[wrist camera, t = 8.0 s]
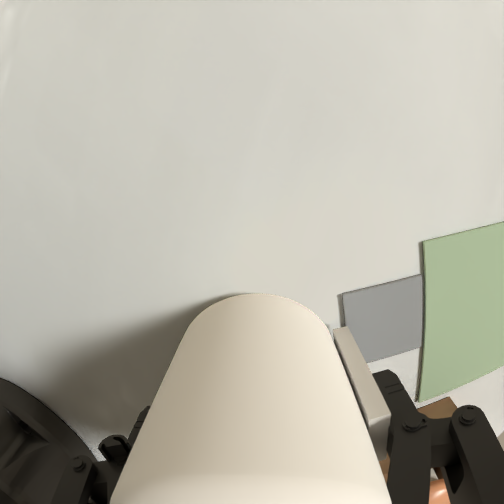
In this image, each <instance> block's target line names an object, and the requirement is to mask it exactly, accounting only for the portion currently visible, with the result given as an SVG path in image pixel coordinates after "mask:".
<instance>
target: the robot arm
mask: <svg viewBox="0 0 504 504" xmlns="http://www.w3.org/2000/svg"><path fill="white" fill-rule="evenodd" d="M333 337H334V344H335V346H336V349H337V351H338V354H339V356H340V359H341V361H342V364H343V366H344V369H345V371H346V374H347V377H348V379H349V382H350V384H351V387H352V390H353V392H354V395H355V398H356V400H357V403H358V406H359V408H360V411H361V414H362V416H363V419H364V422H365V425H366V427H367V430H368V433H369V436H370V438H371V441H372V444H373V447H374V450H375V453H376V455H377V458H378V461H382V460H385V459H386V456H387V453H388V456H389V458H390V464H389V470H388V478H387V484H386V485H387V489H388V492H389V495H390V499H391V502H392V504H429V494H430V476H431V468H435V467H440V469H441V472H442V475H443V479H444V482H445V486H446V489H447V493H448V497H449V500H450V504H504V451H503V449H502V447H501V445H500V443H499V441H498V439H497V437H496V435H495V433H494V431H493V429H492V427H491V425H490V424H489V422H488V420H487V418H486V416H485V414H484V412H483V411H482V410H481V409H480V408H478V407H476V406H473V405H465V406H461V407H459V408H457V409H456V410H455V411H454V412H453V414H452V417H447V418H439V419H432V418H428V417H427V416H426V415H425V414H423V413H420V412H418V410H417V409H416V407H415V405H414V403H413V402H412V400H411V398H410V397H409V395H408V393H407V391H406V390H405V389H404V386H403V385H402V384H401V381H400V380H399V378H398V376H397V375H396V374H395V373H393V372H392V371H390V370H384V371H381V372H377V373H373V374H371V371H370V369H369V367H368V365H367V363H366V362H365V360H364V358H363V356H362V354H361V352H360V350H359V348H358V346H357V344H356V342H355V340H354V338H353V336H352V334H351V332H350V330H349V328H348V327H347V326H346V327H341V328H337V329H333ZM150 407H151V406H147V407H146V408H145V409H144V410H143V411H142V412H141V413H140V415H139V417H138V419H137V422H136V423H135V425H134V428H133V429H132V431H131V433H130V436H129V438H128V440H127V438H125V437H124V436H122V435H112V436H109V437H107V438H105V439H104V440H103V441H102V442H101V443H100V444H99V447H98V449H99V450H100V452H101V453H102V455H103V456H104V457H105V459H106V461H100V462H98V461H97V460H96V458H95V457H94V455H93V454H92V452H91V451H90V450H89V449H88V447H87V446H86V445H85V444H84V443H83V441H82V440H81V439H80V438H79V437H78V436H77V435H76V434H75V433H74V432H73V431H72V430H71V429H70V428H69V427H68V426H67V425H66V424H65V423H64V422H63V421H62V420H61V419H60V418H58V417H57V416H56V415H55V414H54V413H53V412H52V411H50V410H49V409H48V408H47V407H46V406H44V405H43V404H42V403H41V402H39V401H38V400H37V399H35V398H34V397H33V396H31V395H30V394H28V393H27V392H25V391H24V390H22V389H21V388H19V387H17V386H16V385H14V384H12V383H10V382H8V381H6V380H3V379H0V504H110V500H111V497H112V494H113V492H114V489H115V487H116V485H117V482H118V480H119V477H120V475H121V473H122V471H123V468H124V466H125V464H126V461H127V459H128V457H129V454H130V452H131V450H132V448H133V445H134V443H135V441H136V438H137V436H138V434H139V432H140V429H141V427H142V425H143V423H144V421H145V418H146V416H147V414H148V412H149V409H150Z"/></svg>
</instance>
